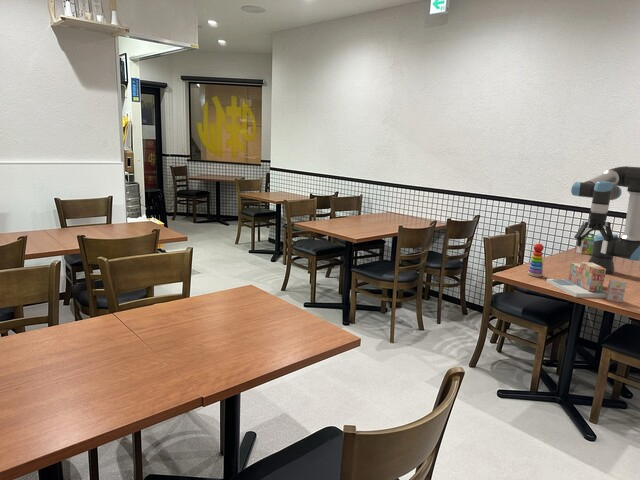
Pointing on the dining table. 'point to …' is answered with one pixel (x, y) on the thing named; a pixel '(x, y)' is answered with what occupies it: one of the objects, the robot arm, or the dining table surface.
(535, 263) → the stacking toy
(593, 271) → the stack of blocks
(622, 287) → the white red printed box
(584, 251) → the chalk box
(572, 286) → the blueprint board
